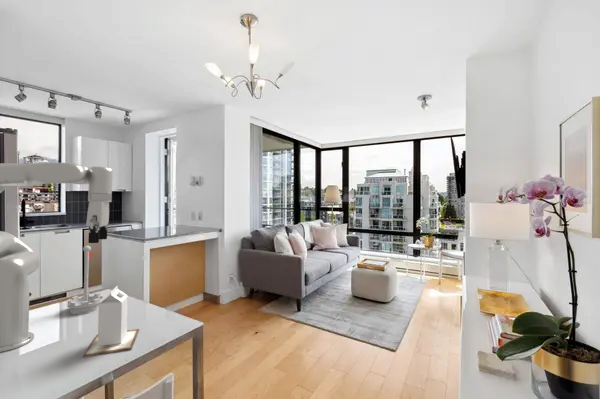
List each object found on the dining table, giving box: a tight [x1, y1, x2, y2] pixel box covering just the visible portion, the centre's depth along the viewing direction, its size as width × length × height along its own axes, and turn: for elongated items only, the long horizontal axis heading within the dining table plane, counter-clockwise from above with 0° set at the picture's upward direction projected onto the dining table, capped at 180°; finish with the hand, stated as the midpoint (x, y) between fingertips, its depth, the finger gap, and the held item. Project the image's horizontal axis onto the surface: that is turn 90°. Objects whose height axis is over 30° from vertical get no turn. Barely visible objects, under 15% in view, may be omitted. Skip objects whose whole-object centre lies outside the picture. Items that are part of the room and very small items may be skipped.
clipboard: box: [82, 328, 140, 358], centre depth 100 cm, size 14×15×1 cm
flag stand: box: [67, 245, 104, 315], centre depth 129 cm, size 13×13×30 cm
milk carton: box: [97, 285, 129, 346], centre depth 100 cm, size 7×7×19 cm
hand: (98, 241), depth 108 cm, fingers open, 9 cm apart
